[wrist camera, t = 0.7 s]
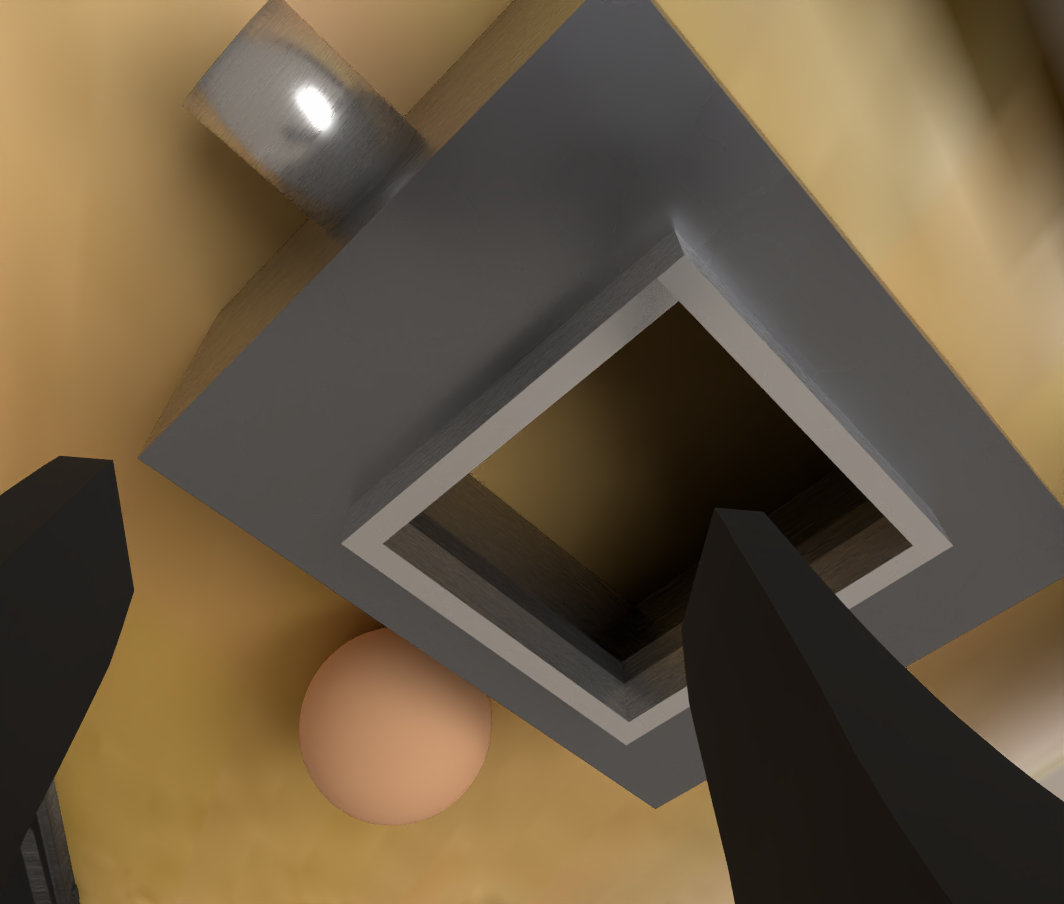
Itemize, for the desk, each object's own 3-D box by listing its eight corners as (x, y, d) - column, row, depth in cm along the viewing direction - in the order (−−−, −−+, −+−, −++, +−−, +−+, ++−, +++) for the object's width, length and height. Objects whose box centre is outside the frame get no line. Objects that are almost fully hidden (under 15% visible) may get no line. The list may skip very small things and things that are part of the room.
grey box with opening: (981, 402, 23) (1129, 591, 17) (630, 635, 27) (661, 847, 21) (468, -231, 16) (446, -248, 10) (99, 220, 20) (-57, 378, 14)
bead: (529, 653, 27) (533, 805, 23) (411, 734, 29) (395, 889, 25) (398, 558, 25) (376, 707, 21) (280, 653, 27) (238, 806, 23)
